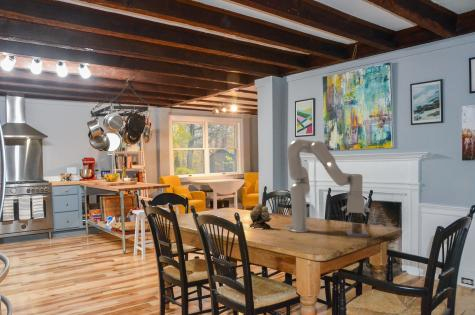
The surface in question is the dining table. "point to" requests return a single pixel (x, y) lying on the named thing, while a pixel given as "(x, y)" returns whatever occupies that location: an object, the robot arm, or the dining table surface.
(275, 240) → the dining table surface
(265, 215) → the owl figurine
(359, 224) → the cube
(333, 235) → the dining table surface
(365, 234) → the trivet
